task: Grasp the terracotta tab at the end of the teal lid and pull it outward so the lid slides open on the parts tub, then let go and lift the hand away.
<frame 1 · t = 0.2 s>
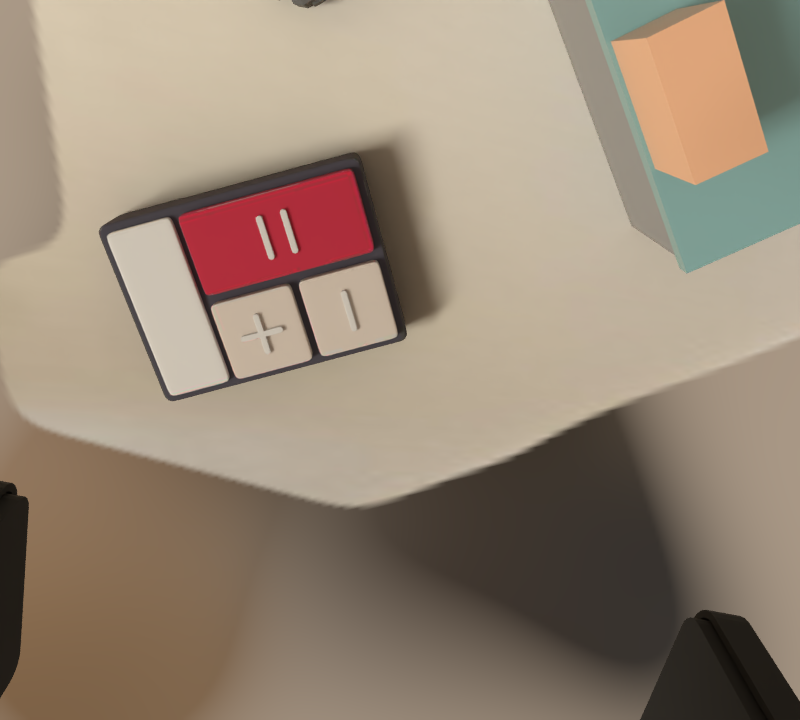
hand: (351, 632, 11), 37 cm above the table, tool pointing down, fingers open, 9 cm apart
tub: (757, 13, 41), on the table
calculator: (266, 270, 47), on the table
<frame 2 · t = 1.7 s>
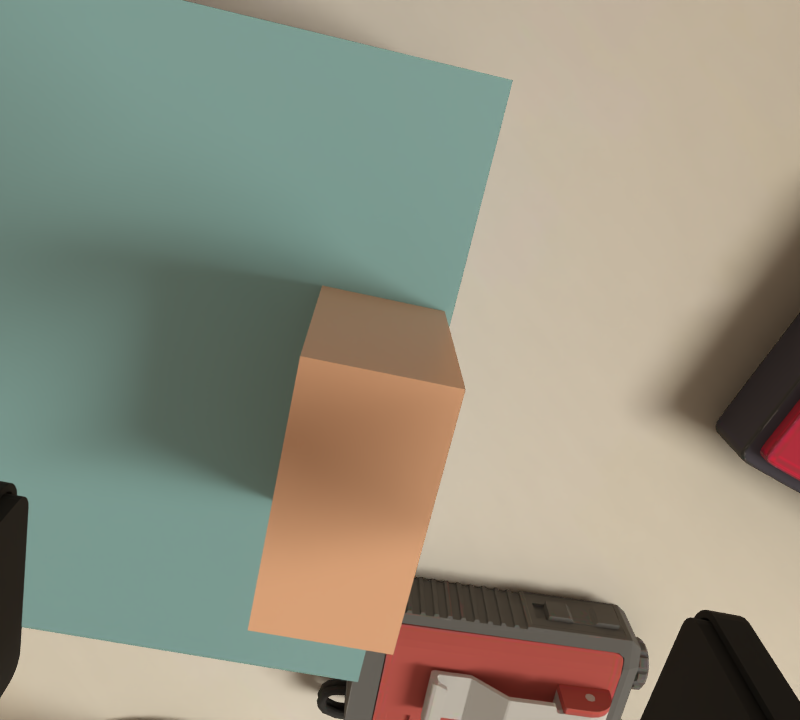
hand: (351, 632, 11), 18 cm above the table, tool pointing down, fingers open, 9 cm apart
walkie-talkie: (545, 667, 34), on the table
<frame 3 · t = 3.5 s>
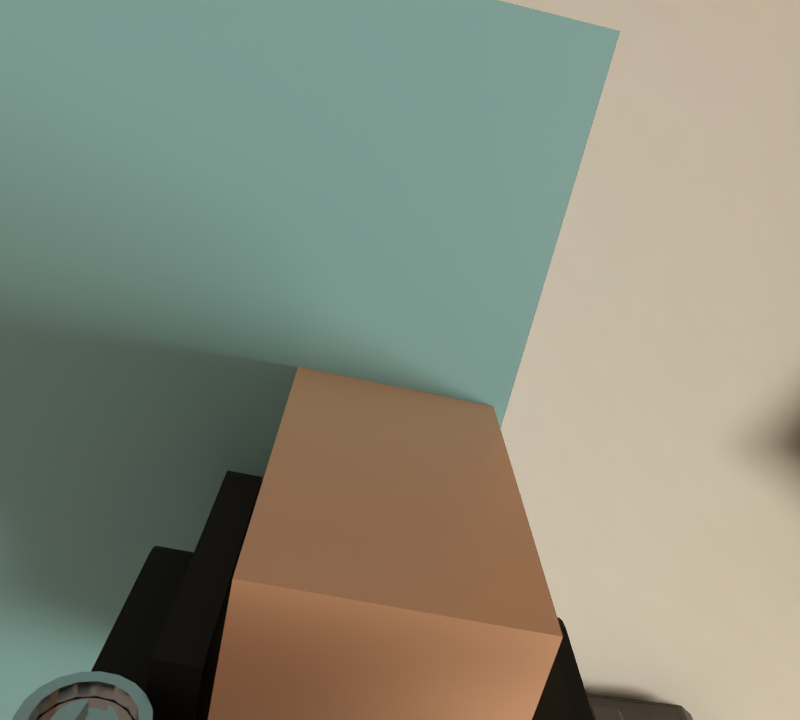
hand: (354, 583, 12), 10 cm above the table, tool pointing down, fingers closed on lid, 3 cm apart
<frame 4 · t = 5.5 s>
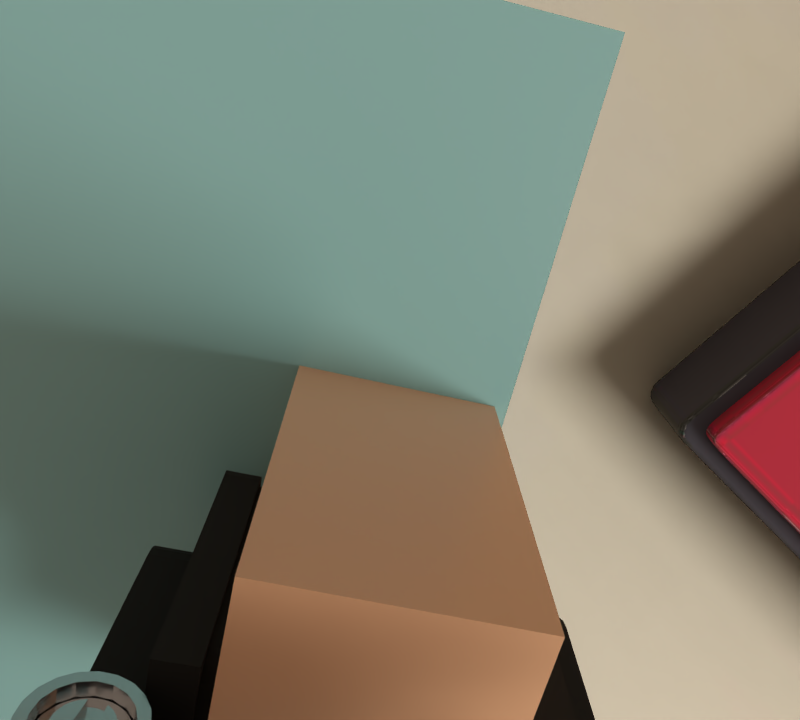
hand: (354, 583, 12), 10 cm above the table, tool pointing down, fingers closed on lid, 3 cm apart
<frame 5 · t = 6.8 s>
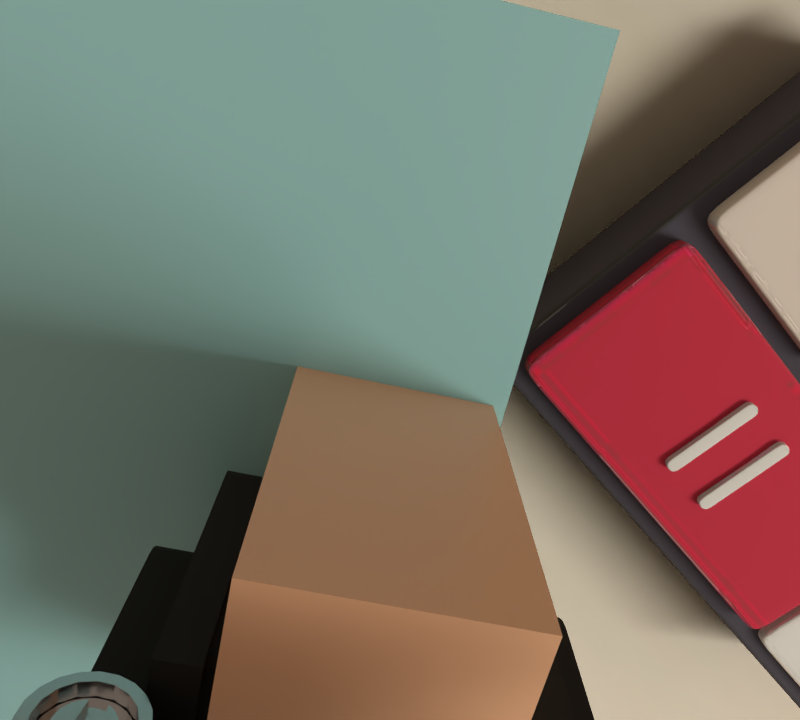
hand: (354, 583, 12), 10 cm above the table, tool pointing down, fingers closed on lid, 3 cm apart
calculator: (785, 385, 22), on the table
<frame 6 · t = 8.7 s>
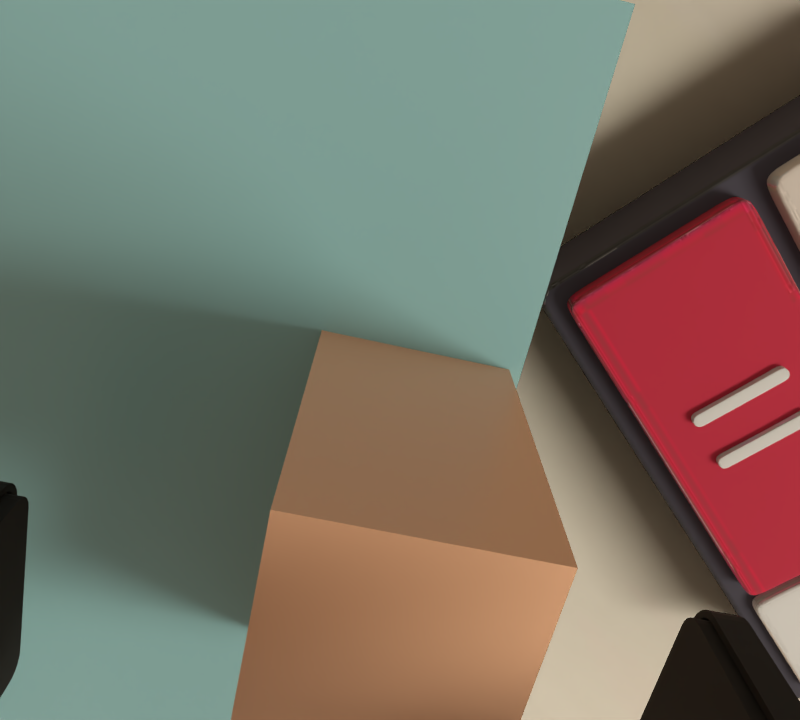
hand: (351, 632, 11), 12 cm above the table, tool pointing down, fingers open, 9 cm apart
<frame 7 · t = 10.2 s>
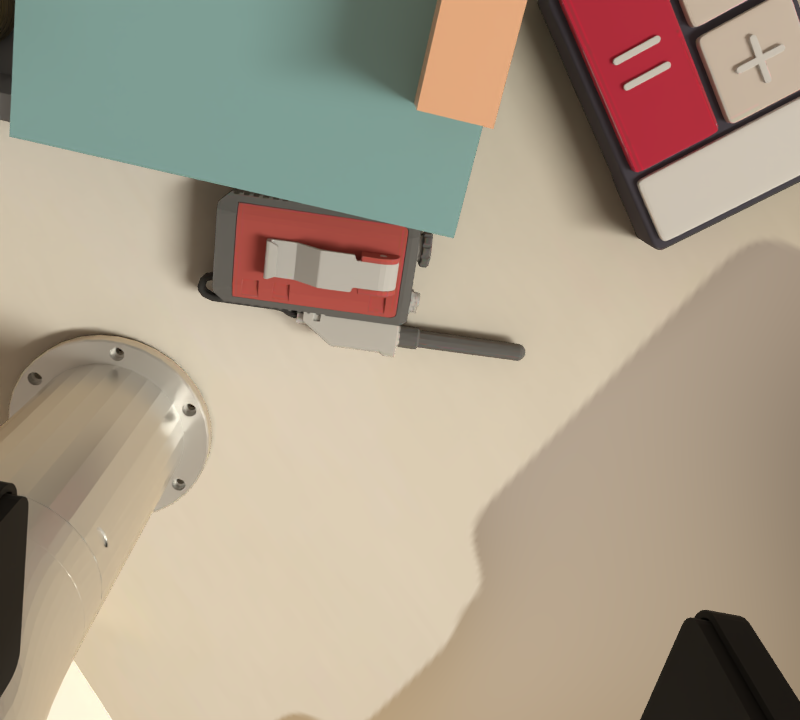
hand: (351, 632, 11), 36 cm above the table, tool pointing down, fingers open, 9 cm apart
calculator: (678, 76, 42), on the table
milk: (20, 698, 58), on the table
walkie-talkie: (371, 272, 46), on the table
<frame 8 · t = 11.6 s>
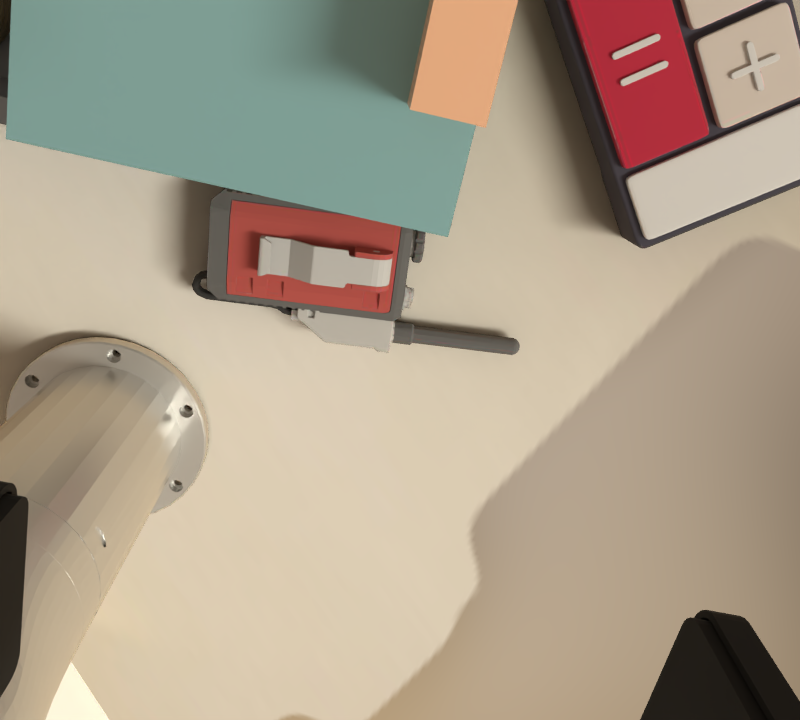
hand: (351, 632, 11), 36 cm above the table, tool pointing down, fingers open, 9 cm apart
calculator: (673, 78, 43), on the table
milk: (18, 701, 58), on the table
walkie-talkie: (364, 268, 47), on the table
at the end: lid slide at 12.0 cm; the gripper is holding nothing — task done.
